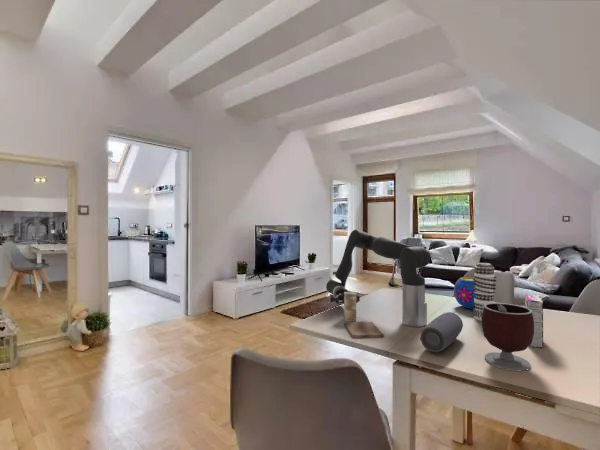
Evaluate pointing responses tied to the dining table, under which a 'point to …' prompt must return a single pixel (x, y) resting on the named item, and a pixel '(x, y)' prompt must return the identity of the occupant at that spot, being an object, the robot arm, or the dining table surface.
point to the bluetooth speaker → (441, 332)
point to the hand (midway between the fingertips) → (347, 301)
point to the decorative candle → (483, 287)
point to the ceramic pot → (465, 292)
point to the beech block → (350, 306)
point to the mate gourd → (507, 334)
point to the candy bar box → (536, 317)
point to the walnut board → (363, 329)
